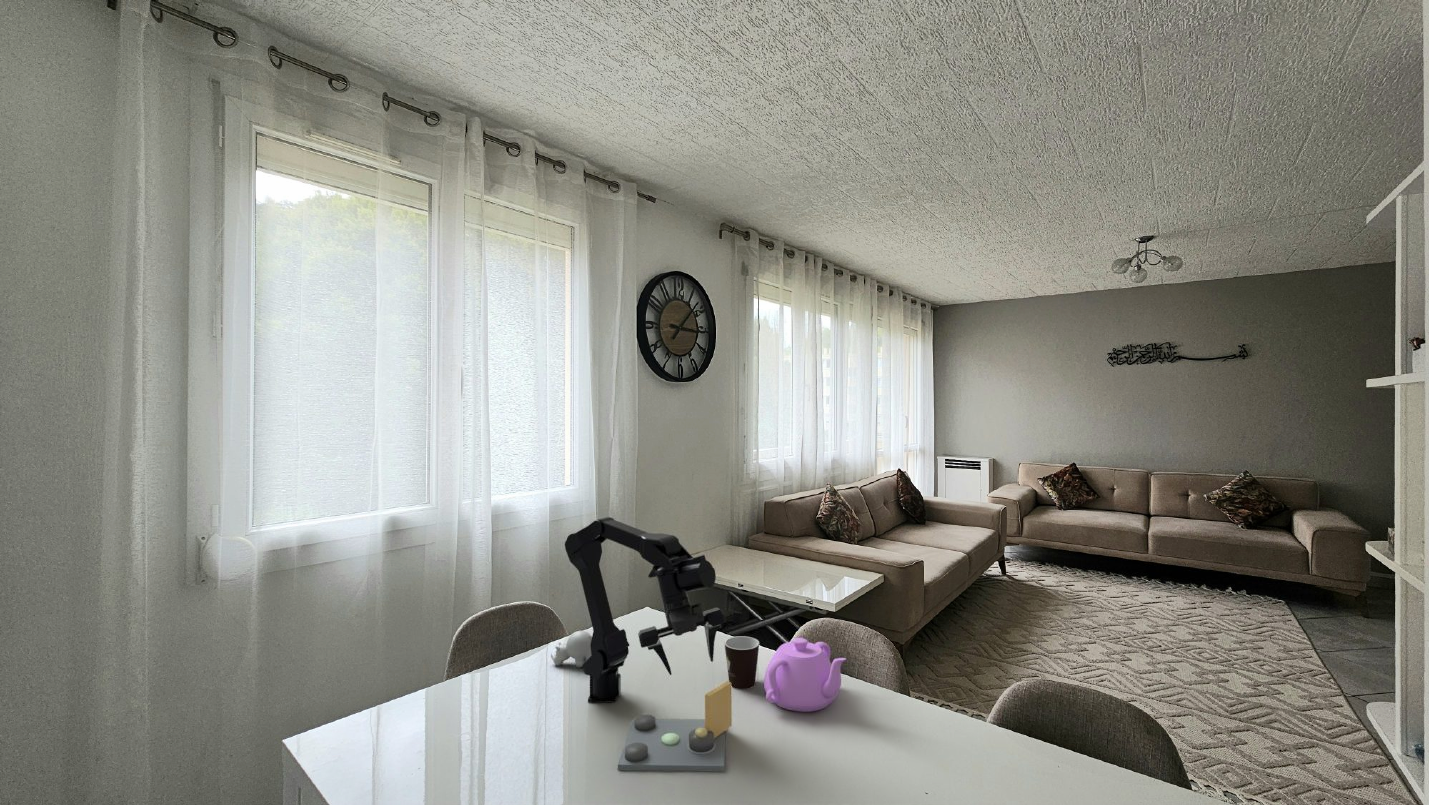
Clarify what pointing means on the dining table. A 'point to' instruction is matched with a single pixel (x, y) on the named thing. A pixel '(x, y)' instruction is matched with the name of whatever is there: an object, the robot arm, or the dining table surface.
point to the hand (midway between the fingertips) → (691, 668)
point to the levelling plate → (668, 746)
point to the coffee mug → (742, 661)
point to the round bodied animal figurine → (574, 649)
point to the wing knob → (713, 718)
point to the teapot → (802, 676)
